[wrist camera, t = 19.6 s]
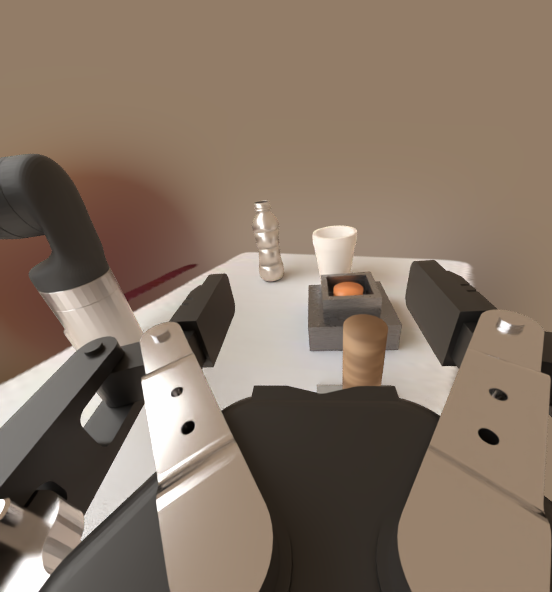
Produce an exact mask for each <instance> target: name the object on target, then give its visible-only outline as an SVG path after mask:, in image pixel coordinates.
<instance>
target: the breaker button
mask: <svg viewBox="0 0 552 592" xmlns="http://www.w3.org/2000/svg"><path fill="white" fill-rule="evenodd" d="M350 295H363V287H362V286H361V285H360V284H358V283H355V282H342V283H338V284H336V285H335V286H334V288H333V296H350Z"/></svg>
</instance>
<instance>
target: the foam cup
mask: <svg viewBox="0 0 552 592" xmlns="http://www.w3.org/2000/svg"><path fill="white" fill-rule="evenodd" d="M356 243H357V230H356V229H355V228H353V227H349V226H329V227H324V228H320V229H317V230H316V231H314V232H313V245H314V247H315V252H316V258H317V263H318V269H319V274H320V279H321V275H327V274H343V273H350V272H351V266H352V260H353V255H354V249H355V244H356Z"/></svg>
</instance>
